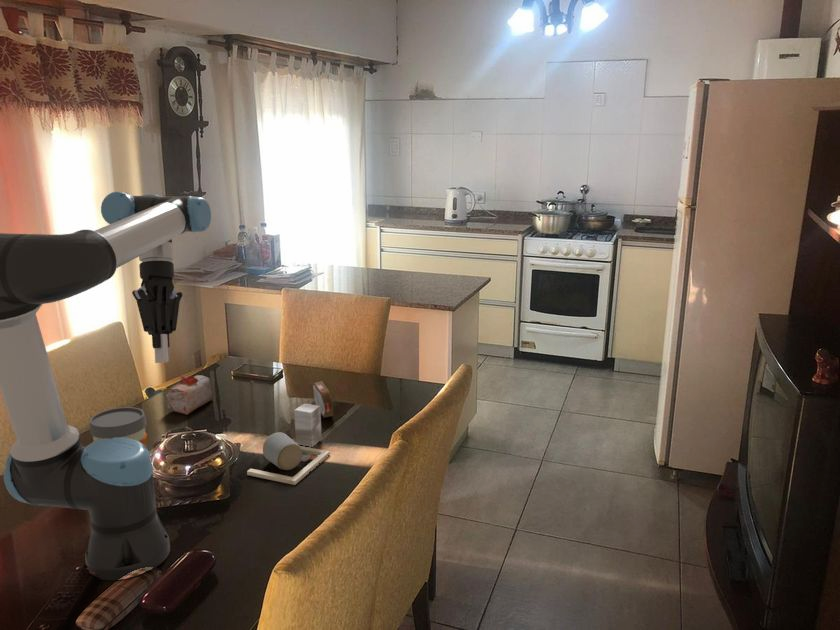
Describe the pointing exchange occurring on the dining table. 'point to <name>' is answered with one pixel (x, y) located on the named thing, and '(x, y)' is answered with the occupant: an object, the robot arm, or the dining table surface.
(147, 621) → the dining table surface
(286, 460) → the ceramic mug
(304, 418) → the grey block
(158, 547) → the robot arm
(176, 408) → the food item
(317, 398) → the tin
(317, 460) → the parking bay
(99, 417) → the reusable coffee cup
